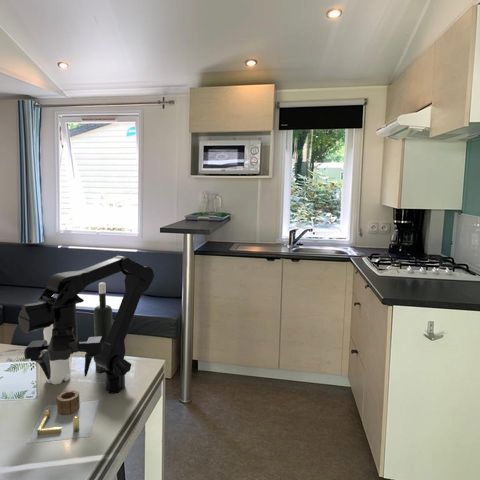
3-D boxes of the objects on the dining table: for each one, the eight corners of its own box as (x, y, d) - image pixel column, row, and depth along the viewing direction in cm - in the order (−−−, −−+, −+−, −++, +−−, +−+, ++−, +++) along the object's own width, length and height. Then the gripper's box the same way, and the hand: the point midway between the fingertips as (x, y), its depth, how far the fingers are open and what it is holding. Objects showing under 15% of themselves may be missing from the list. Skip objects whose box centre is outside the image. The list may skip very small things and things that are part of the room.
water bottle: (40, 385, 115) (36, 306, 112) (58, 374, 122) (54, 300, 119) (58, 389, 113) (54, 309, 110) (76, 378, 120) (72, 302, 117)
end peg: (74, 429, 93) (73, 416, 93) (80, 428, 93) (79, 415, 93) (72, 432, 92) (72, 419, 91) (78, 431, 92) (78, 418, 92)
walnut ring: (61, 405, 103) (60, 391, 103) (80, 403, 105) (80, 389, 104) (55, 415, 98) (55, 401, 98) (76, 413, 99) (76, 399, 99)
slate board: (46, 408, 103) (46, 405, 103) (99, 403, 106) (99, 400, 106) (26, 446, 88) (25, 443, 88) (89, 439, 90) (89, 436, 90)
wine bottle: (95, 367, 127) (92, 281, 124) (112, 364, 130) (110, 280, 126) (96, 374, 122) (93, 285, 118) (114, 371, 125) (112, 284, 121)
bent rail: (45, 416, 98) (45, 409, 98) (68, 414, 99) (68, 407, 99) (36, 435, 90) (35, 428, 90) (60, 432, 92) (60, 425, 91)
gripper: (14, 335, 89) (18, 397, 91) (97, 330, 92) (99, 389, 94) (30, 319, 99) (33, 375, 101) (103, 315, 103) (105, 369, 105)
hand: (67, 377), depth 100 cm, fingers open, 9 cm apart
